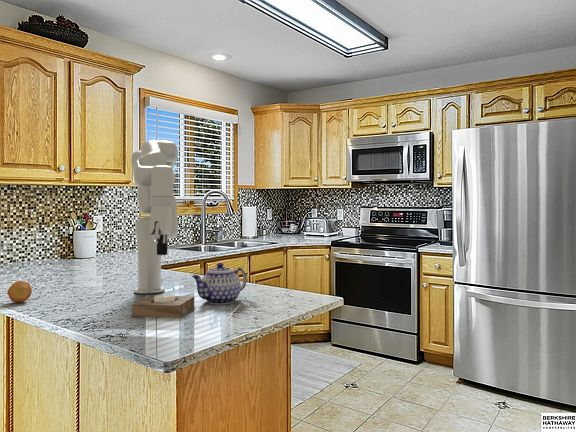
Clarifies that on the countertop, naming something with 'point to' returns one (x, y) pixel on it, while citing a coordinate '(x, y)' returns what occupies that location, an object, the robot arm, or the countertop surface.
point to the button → (164, 298)
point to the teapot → (220, 285)
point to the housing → (163, 307)
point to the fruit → (19, 291)
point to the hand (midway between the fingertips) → (162, 254)
